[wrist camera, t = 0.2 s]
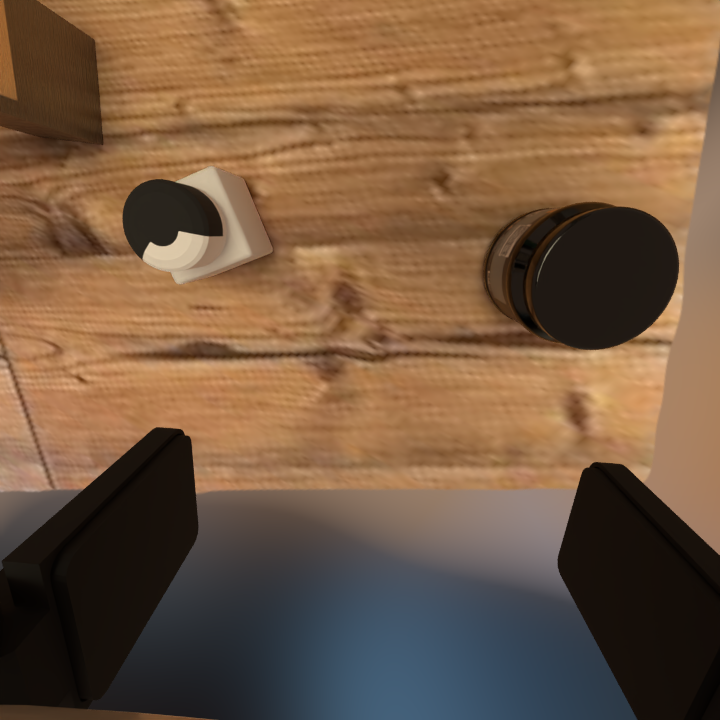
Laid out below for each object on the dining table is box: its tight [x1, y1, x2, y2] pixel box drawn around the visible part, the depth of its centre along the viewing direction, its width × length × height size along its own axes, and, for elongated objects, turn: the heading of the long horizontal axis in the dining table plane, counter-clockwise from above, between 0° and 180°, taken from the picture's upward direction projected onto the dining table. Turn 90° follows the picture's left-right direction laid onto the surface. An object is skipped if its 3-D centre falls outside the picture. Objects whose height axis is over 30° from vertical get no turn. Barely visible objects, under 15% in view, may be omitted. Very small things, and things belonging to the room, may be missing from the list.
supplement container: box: [484, 202, 679, 350], centre depth 31 cm, size 10×10×12 cm
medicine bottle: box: [123, 166, 273, 284], centre depth 32 cm, size 7×7×12 cm
